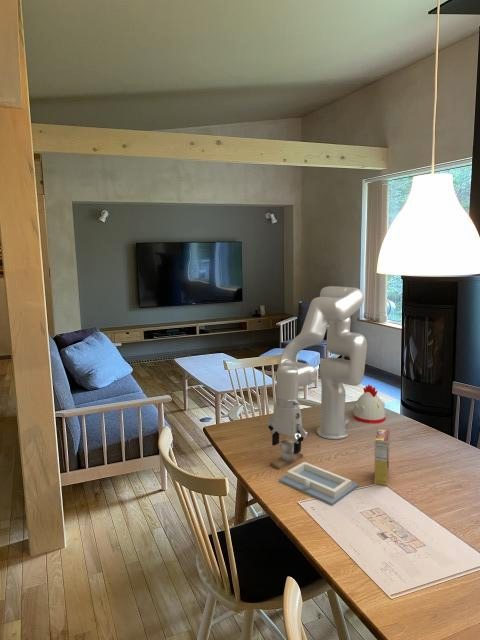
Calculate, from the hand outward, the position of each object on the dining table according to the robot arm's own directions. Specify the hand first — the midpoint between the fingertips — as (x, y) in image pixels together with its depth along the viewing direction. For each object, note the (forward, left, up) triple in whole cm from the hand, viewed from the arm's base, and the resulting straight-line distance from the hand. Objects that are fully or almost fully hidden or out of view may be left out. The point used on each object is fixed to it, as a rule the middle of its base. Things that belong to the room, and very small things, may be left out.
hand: (286, 448), depth 161 cm
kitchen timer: (-59, 0, -6) cm, 59 cm away
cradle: (+4, +17, -5) cm, 18 cm away
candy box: (-13, +30, -5) cm, 33 cm away
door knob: (-1, 0, -5) cm, 5 cm away
